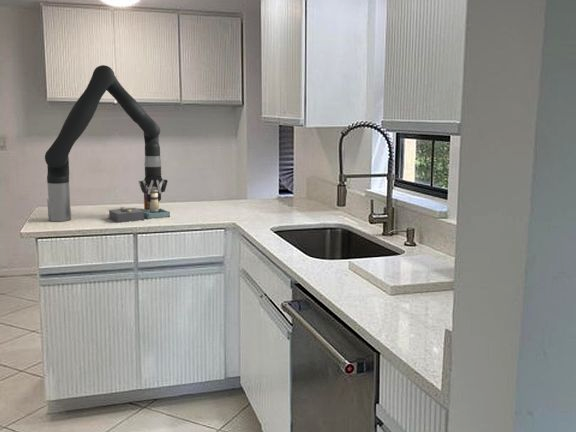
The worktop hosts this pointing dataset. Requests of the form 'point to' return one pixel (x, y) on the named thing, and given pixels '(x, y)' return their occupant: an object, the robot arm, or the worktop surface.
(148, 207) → the candy box
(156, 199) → the fuse
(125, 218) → the fuse block
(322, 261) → the worktop surface
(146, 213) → the tray
